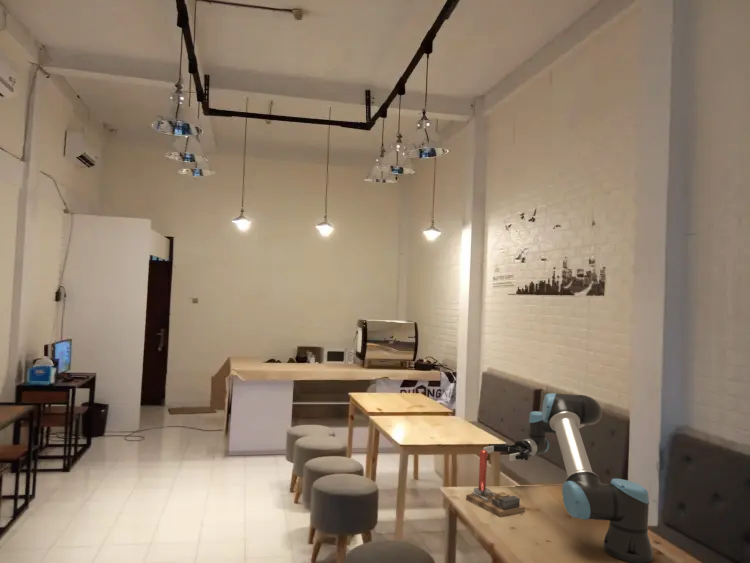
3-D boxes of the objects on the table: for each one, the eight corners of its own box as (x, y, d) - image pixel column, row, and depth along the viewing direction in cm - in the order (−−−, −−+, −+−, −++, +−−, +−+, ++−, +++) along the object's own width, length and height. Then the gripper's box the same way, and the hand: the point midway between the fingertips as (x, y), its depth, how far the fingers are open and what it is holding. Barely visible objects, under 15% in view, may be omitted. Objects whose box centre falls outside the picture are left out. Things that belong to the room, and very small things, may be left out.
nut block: (509, 505, 217) (509, 494, 217) (501, 506, 215) (502, 496, 215) (501, 501, 220) (502, 491, 220) (494, 503, 218) (495, 492, 218)
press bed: (524, 512, 216) (525, 497, 216) (500, 517, 209) (501, 502, 209) (489, 495, 233) (490, 482, 233) (466, 499, 226) (466, 486, 226)
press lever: (495, 497, 224) (497, 452, 225) (485, 498, 222) (487, 453, 223) (483, 491, 231) (485, 448, 231) (473, 493, 228) (475, 449, 229)
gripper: (549, 463, 239) (521, 470, 226) (501, 450, 258) (473, 456, 244) (549, 445, 240) (522, 451, 226) (502, 434, 259) (474, 439, 245)
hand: (496, 454), depth 235 cm, fingers open, 13 cm apart
